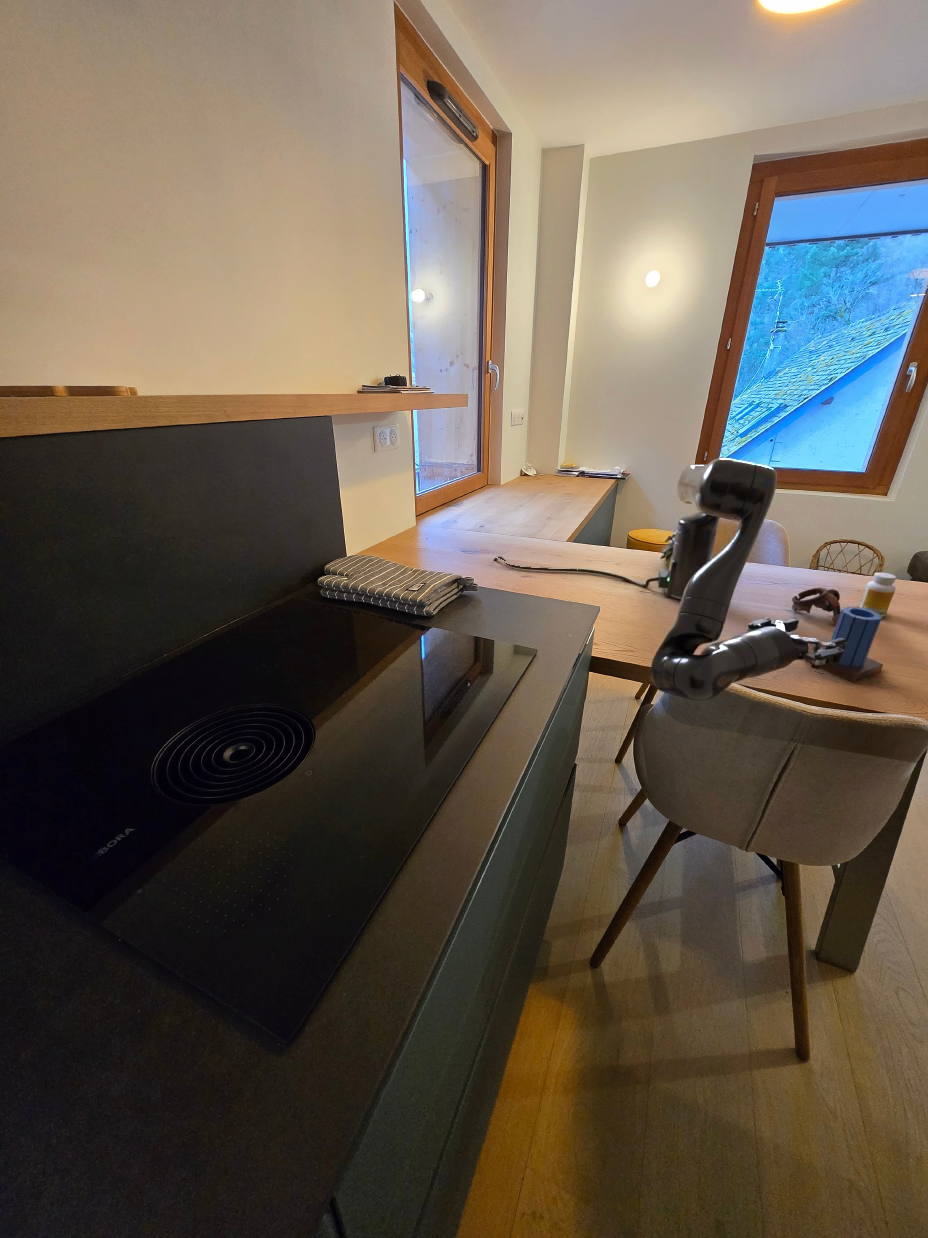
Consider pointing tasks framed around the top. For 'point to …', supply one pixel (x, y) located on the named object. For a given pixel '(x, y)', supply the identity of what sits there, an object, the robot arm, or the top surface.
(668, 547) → the passion flower
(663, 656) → the robot arm
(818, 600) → the brown curved piece
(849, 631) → the fluted pencil holder
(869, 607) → the supplement bottle
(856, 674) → the stand
